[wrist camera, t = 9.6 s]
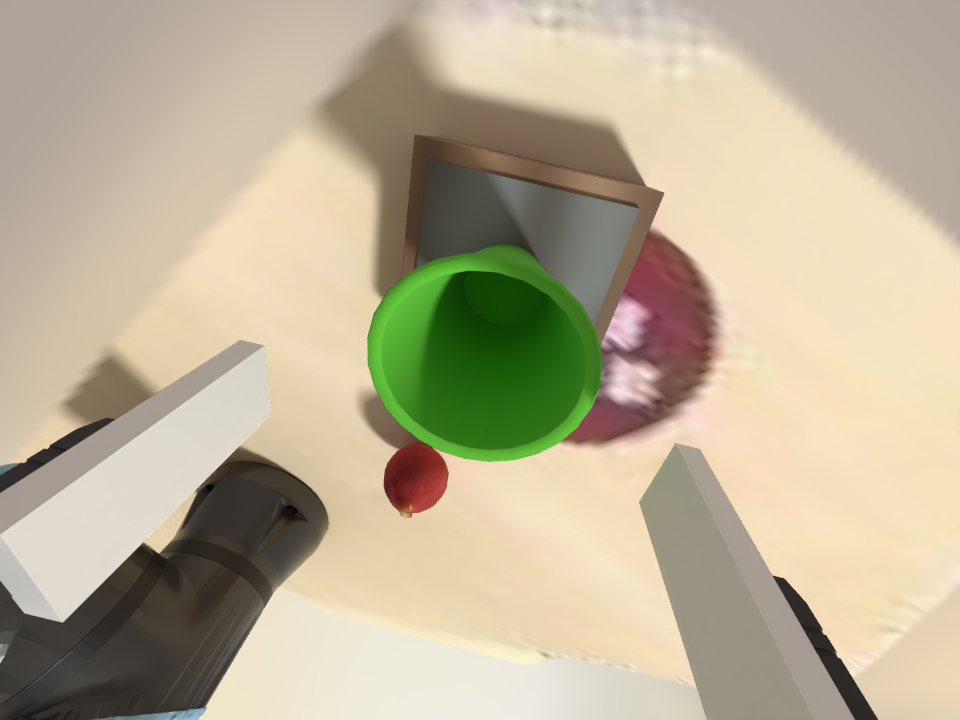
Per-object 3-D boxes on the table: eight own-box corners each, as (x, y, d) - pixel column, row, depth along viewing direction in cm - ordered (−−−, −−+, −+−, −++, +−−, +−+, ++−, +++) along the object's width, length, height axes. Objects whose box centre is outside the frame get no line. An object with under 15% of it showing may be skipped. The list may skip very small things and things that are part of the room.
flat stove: (411, 328, 31) (393, 353, 27) (432, 136, 24) (413, 134, 20) (575, 368, 31) (579, 399, 27) (646, 186, 24) (666, 193, 20)
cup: (408, 248, 23) (318, 316, 14) (545, 179, 20) (549, 205, 11) (472, 364, 27) (435, 482, 17) (597, 319, 24) (634, 431, 14)
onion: (409, 471, 40) (381, 539, 33) (391, 429, 37) (356, 493, 30) (461, 467, 38) (443, 538, 31) (446, 424, 36) (423, 489, 29)
